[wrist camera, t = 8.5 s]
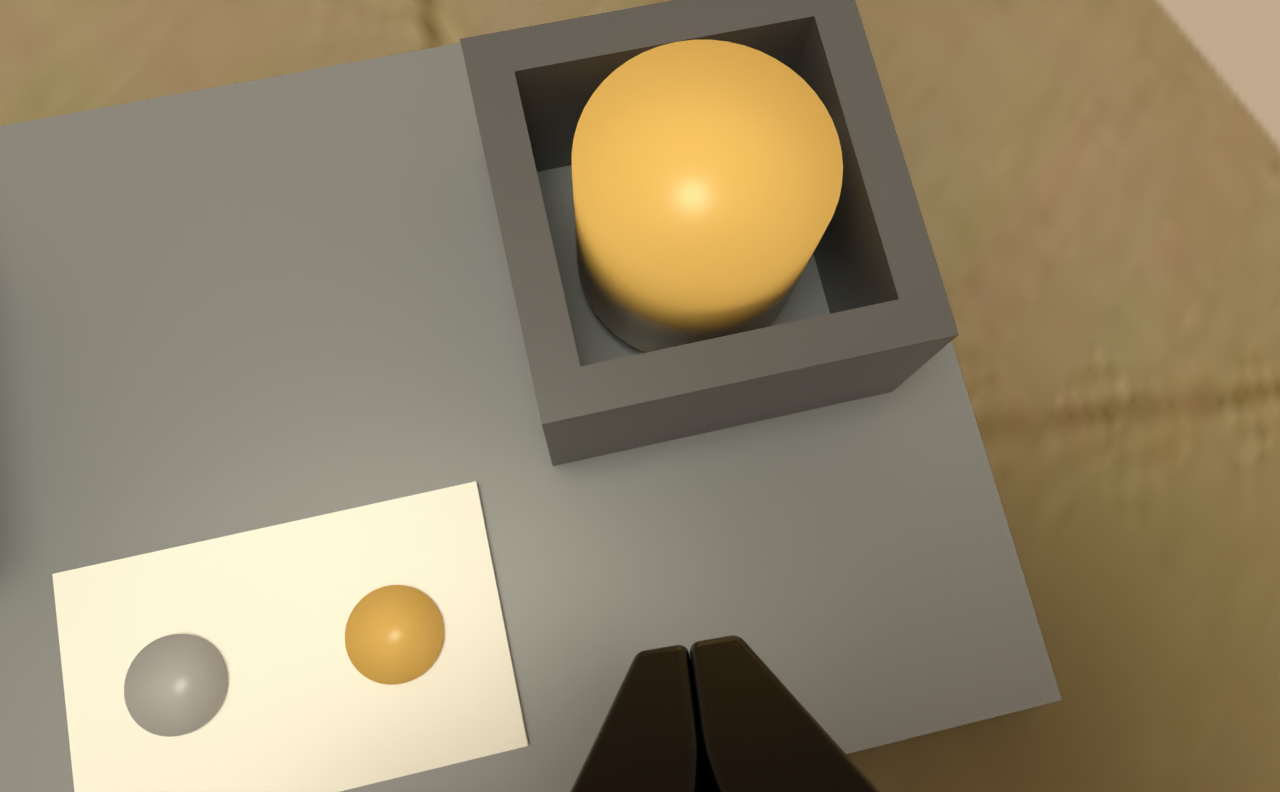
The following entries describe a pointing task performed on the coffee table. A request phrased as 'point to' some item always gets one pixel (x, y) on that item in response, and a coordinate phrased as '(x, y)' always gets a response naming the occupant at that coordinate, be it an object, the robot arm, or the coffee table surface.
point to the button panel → (460, 437)
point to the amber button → (700, 191)
